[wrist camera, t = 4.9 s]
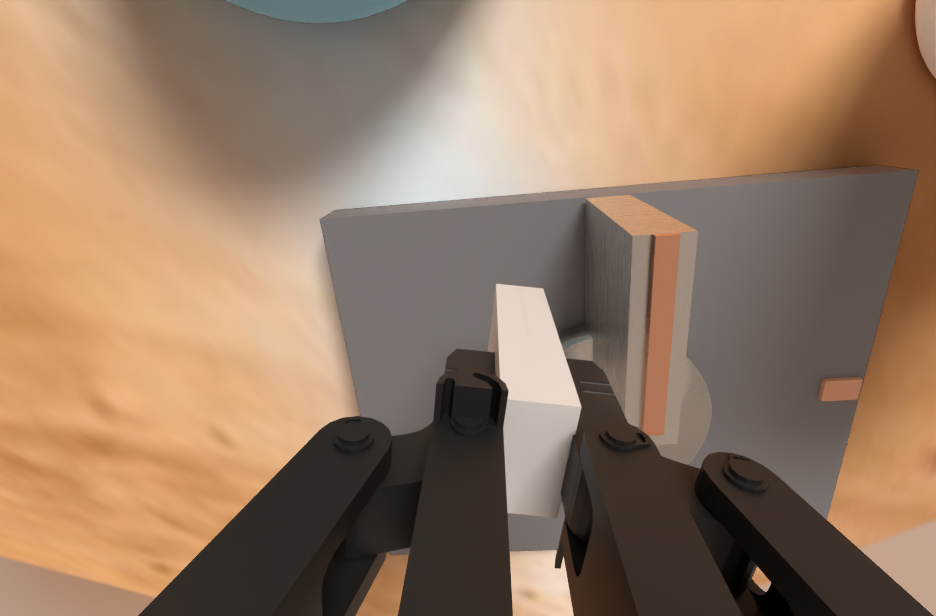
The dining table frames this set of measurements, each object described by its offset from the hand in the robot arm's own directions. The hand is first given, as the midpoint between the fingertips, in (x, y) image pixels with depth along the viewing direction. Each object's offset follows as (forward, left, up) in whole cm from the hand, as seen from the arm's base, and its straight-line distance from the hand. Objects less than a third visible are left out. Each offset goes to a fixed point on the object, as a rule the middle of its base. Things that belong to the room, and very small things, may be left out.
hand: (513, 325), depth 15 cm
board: (+4, -6, -6) cm, 9 cm away
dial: (+4, -3, -4) cm, 6 cm away
